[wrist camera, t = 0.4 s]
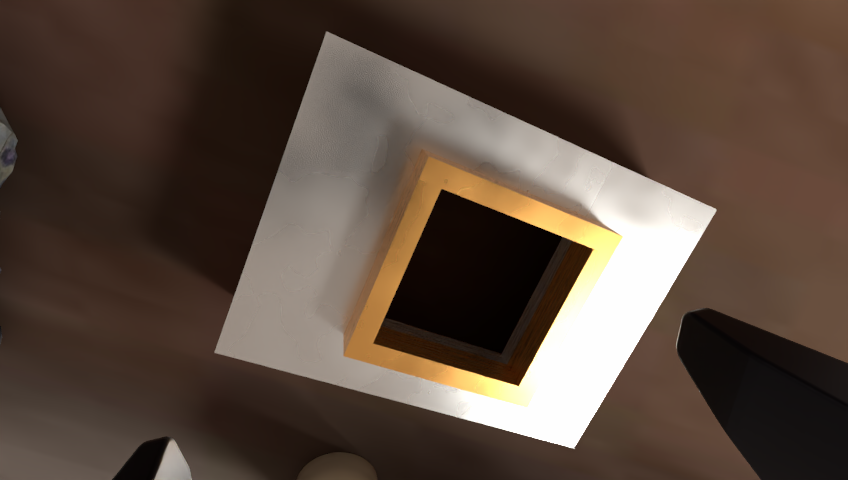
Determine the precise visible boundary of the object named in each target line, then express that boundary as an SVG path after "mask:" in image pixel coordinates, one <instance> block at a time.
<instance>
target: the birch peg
mask: <svg viewBox="0 0 848 480" xmlns="http://www.w3.org/2000/svg"><path fill="white" fill-rule="evenodd" d="M296 480H378V478H377V474H376V471H375V469H374V468H373V466H372V465H371V464H370V463H369V462H368V461H367V460H365V459H364V458H362V457H360V456H358V455H355V454H351V453H345V452H335V453H329V454H325V455H322V456H319V457H317V458H315V459H313V460H312V461H310V462H309V463H308V464H307V465H305V466H304V467H303V469H302V470H301V471H300V473H299V474H298V476H297V479H296Z"/></svg>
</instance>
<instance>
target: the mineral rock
mask: <svg viewBox="0 0 848 480" xmlns="http://www.w3.org/2000/svg"><path fill="white" fill-rule="evenodd" d="M17 141H18V140H17V138H16V136H15V134H14V132H13V130H12V128H11V127H10V125H9V123H8V121H7V119H6V117H5V115H4V114H3V112H2V110H1V108H0V187H1V185H2V184H3V183H4V181H5V180H6V179H7V178H8V176H9V175H10V174H11V173H12V171H13V169H14V165H15V162H16V159H17V153H16V150H15V147H16V144H17ZM0 272H1V268H0ZM1 339H2V332H1V326H0V344H1Z"/></svg>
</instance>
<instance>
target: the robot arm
mask: <svg viewBox="0 0 848 480" xmlns="http://www.w3.org/2000/svg"><path fill="white" fill-rule="evenodd" d="M676 348H677V353H678V356H679V358H680V360H681V362H682V363H683V365H684V367H685V368H686V370H687V371H688V373H689V375H690V376H691V378H692V380H693V381H694V383H695V384H696V386H697V388H698V389H699V391H700V393H701V394H702V396H703V397H704V399H705V401H706V402H707V404H708V406H709V407H710V409H711V410H712V412H713V414H714V415H715V417H716V419H717V420H718V422H719V423H720V425H721V426H722V428H723V429H724V431H725V432H726V433H727V435H728V436H729V438H730V439H731V440H732V442H733V443H734V445H735V446H736V447H737V449H738V450H739V451H740V452H741V454H742V455H743V456H744V458H745V459H746V460H747V462H748V463H749V464H750V466H751V467H752V468H753V470H754V471H755V472H756V474H757V475H758V476H759V478H760V479H761V480H848V363H846V362H843V361H841V360H838V359H836V358H833V357H831V356H828V355H826V354H823V353H821V352H818V351H816V350H813V349H811V348H808V347H806V346H803V345H800V344H798V343H795V342H793V341H790V340H788V339H785V338H783V337H780V336H778V335H775V334H773V333H770V332H768V331H765V330H763V329H760V328H758V327H755V326H753V325H750V324H748V323H745V322H743V321H740V320H738V319H735V318H733V317H730V316H728V315H725V314H722V313H720V312H717V311H715V310H712V309H709V308H702V309H697V310H693V311H689V312H687V313H685V314H684V315H683V317H682V321H681V325H680V330H679V335H678V339H677V344H676ZM112 480H192V477H191V471H190V468H189V465H188V463H187V462H186V460H185V458H184V456H183V454H182V453H181V451H180V449H179V447H178V445H177V443H176V442H175V440H174V439H173V438H171V437H162V438H158V439H154V440H150V441H146V442H144V443H143V444H141V445H140V446H139V447H138V448H137V450H136V451H135V452H134V453H133V455H132V456H131V457H130V458H129V459H128V461H127V462H126V463H125V464H124V466H123V467H122V468H121V469H120V471H119V472H118V473H117V474H116V476H115V477H114V478H113V479H112Z"/></svg>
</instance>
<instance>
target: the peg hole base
mask: <svg viewBox="0 0 848 480" xmlns="http://www.w3.org/2000/svg"><path fill="white" fill-rule="evenodd" d="M441 189H444V190H446V191H449V192H451V193H454V194H456V195H459V196H461V197H464V198H466V199H469V200H471V201H474V202H476V203H479V204H481V205H484V206H486V207H489V208H492V209H494V210H497V211H499V212H502V213H504V214H507V215H509V216H512V217H514V218H517V219H519V220H522V221H524V222H527V223H529V224H532V225H534V226H537V227H540V228H542V229H545V230H547V231H550V232H552V233H555V234H557V235H560V236H562V239H561V241H560V243H559V245H558V247H557V249H556V251H555V252H554V254H553V256H552V258H551V260H550V262H549V264H548V266H547V268H546V270H545V272H544V273H543V275H542V277H541V279H540V281H539V283H538V285H537V287H536V289H535V291H534V293H533V295H532V296H531V298H530V300H529V302H528V304H527V306H526V308H525V310H524V312H523V314H522V316H521V317H520V319H519V321H518V323H517V325H516V327H515V329H514V331H513V333H512V335H511V337H510V339H509V340H508V342H507V344H506V346H505V348H504V350H503V352H502V354H500V353H497V352H494V351H490V350H487V349H484V348H481V347H478V346H474V345H471V344H468V343H465V342H461V341H458V340H455V339H452V338H449V337H445V336H442V335H439V334H436V333H432V332H429V331H426V330H423V329H420V328H416V327H413V326H410V325H407V324H404V323H400V322H397V321H394V320H391V319H387V318H385V315H386V313H387V311H388V309H389V306H390V304H391V302H392V299H393V297H394V295H395V293H396V290H397V288H398V286H399V284H400V281H401V279H402V277H403V275H404V272H405V270H406V268H407V266H408V263H409V261H410V259H411V257H412V254H413V252H414V250H415V247H416V245H417V243H418V241H419V238H420V236H421V234H422V232H423V229H424V227H425V225H426V223H427V220H428V218H429V216H430V214H431V211H432V209H433V207H434V205H435V202H436V200H437V198H438V195H439V193H440V191H441ZM715 212H716V209H714V208H712V207H710V206H708V205H705V204H703V203H701V202H699V201H697V200H695V199H692V198H690V197H688V196H686V195H684V194H681V193H679V192H677V191H675V190H673V189H670V188H668V187H666V186H664V185H662V184H660V183H657V182H655V181H653V180H651V179H649V178H646V177H644V176H642V175H640V174H638V173H635V172H633V171H631V170H629V169H627V168H625V167H622V166H620V165H618V164H616V163H614V162H611V161H609V160H607V159H605V158H603V157H600V156H598V155H596V154H594V153H592V152H589V151H587V150H585V149H583V148H581V147H579V146H576V145H574V144H572V143H570V142H568V141H565V140H563V139H561V138H559V137H557V136H554V135H552V134H550V133H548V132H546V131H544V130H541V129H539V128H537V127H535V126H533V125H530V124H528V123H526V122H524V121H522V120H519V119H517V118H515V117H513V116H511V115H509V114H506V113H504V112H502V111H500V110H498V109H495V108H493V107H491V106H489V105H487V104H484V103H482V102H480V101H478V100H476V99H474V98H471V97H469V96H467V95H465V94H463V93H460V92H458V91H456V90H454V89H452V88H449V87H447V86H445V85H443V84H441V83H438V82H436V81H434V80H432V79H430V78H428V77H425V76H423V75H421V74H419V73H417V72H414V71H412V70H410V69H408V68H406V67H403V66H401V65H399V64H397V63H395V62H393V61H390V60H388V59H386V58H384V57H382V56H379V55H377V54H375V53H373V52H371V51H368V50H366V49H364V48H362V47H360V46H358V45H355V44H353V43H351V42H349V41H347V40H344V39H342V38H340V37H338V36H336V35H333V34H331V33H329V32H327V31H326V34H325V37H324V40H323V43H322V46H321V48H320V51H319V54H318V57H317V60H316V63H315V66H314V68H313V71H312V74H311V77H310V80H309V83H308V86H307V89H306V91H305V94H304V97H303V100H302V103H301V106H300V109H299V112H298V114H297V117H296V120H295V123H294V126H293V129H292V132H291V134H290V137H289V140H288V143H287V146H286V149H285V152H284V155H283V157H282V160H281V163H280V166H279V169H278V172H277V175H276V177H275V180H274V183H273V186H272V189H271V192H270V195H269V198H268V200H267V203H266V206H265V209H264V212H263V215H262V218H261V220H260V223H259V226H258V229H257V232H256V235H255V238H254V241H253V243H252V246H251V249H250V252H249V255H248V258H247V261H246V263H245V266H244V269H243V272H242V275H241V278H240V281H239V284H238V286H237V289H236V292H235V295H234V298H233V301H232V304H231V306H230V309H229V312H228V315H227V318H226V321H225V324H224V327H223V329H222V332H221V335H220V338H219V341H218V344H217V347H216V350H215V352H214V353H218V354H221V355H225V356H229V357H233V358H237V359H240V360H244V361H248V362H252V363H255V364H259V365H263V366H267V367H270V368H274V369H278V370H282V371H285V372H289V373H293V374H297V375H300V376H304V377H308V378H312V379H316V380H319V381H323V382H327V383H331V384H334V385H338V386H342V387H346V388H349V389H353V390H357V391H361V392H364V393H368V394H372V395H376V396H380V397H383V398H387V399H391V400H395V401H398V402H402V403H406V404H410V405H413V406H417V407H421V408H425V409H428V410H432V411H436V412H440V413H444V414H447V415H451V416H455V417H459V418H462V419H466V420H470V421H474V422H477V423H481V424H485V425H489V426H492V427H496V428H500V429H504V430H508V431H511V432H515V433H519V434H523V435H526V436H530V437H534V438H538V439H541V440H545V441H549V442H553V443H556V444H560V445H564V446H568V447H572V448H574V447H575V445H576V443H577V442H578V440H579V438H580V437H581V435H582V433H583V432H584V430H585V428H586V427H587V425H588V423H589V422H590V420H591V418H592V417H593V415H594V413H595V412H596V410H597V408H598V407H599V405H600V403H601V402H602V400H603V398H604V397H605V395H606V393H607V392H608V390H609V388H610V387H611V385H612V383H613V382H614V380H615V378H616V377H617V375H618V373H619V372H620V370H621V368H622V367H623V365H624V363H625V362H626V360H627V358H628V357H629V355H630V354H631V352H632V350H633V349H634V347H635V345H636V344H637V342H638V340H639V339H640V337H641V335H642V334H643V332H644V330H645V329H646V327H647V325H648V324H649V322H650V320H651V319H652V317H653V315H654V314H655V312H656V310H657V309H658V307H659V305H660V304H661V302H662V300H663V299H664V297H665V295H666V294H667V292H668V290H669V289H670V287H671V285H672V284H673V282H674V280H675V279H676V277H677V275H678V274H679V272H680V270H681V269H682V267H683V265H684V264H685V262H686V260H687V259H688V257H689V255H690V254H691V252H692V250H693V249H694V247H695V245H696V244H697V242H698V240H699V239H700V237H701V235H702V234H703V232H704V230H705V229H706V227H707V225H708V224H709V222H710V220H711V219H712V217H713V215H714V214H715Z"/></svg>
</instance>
